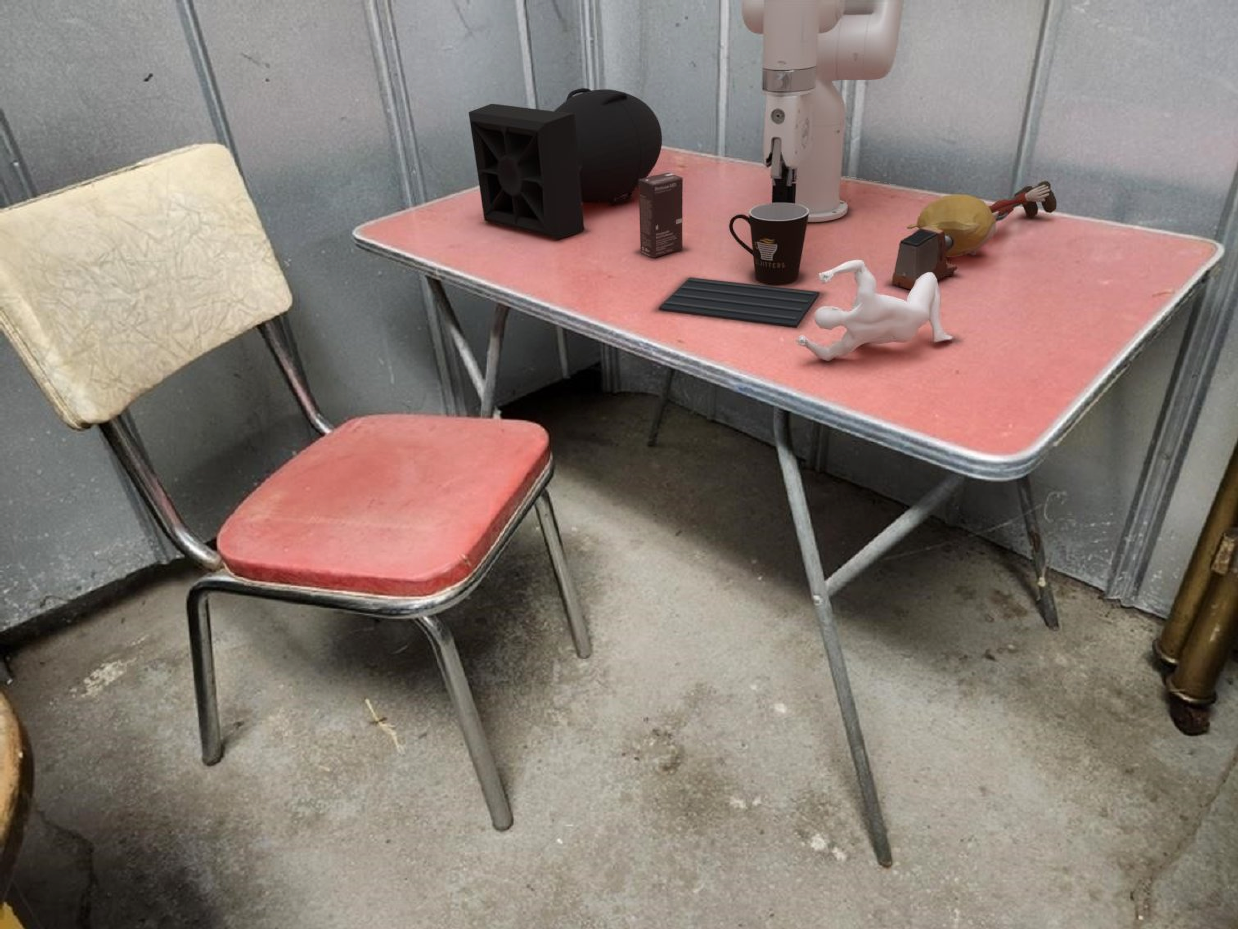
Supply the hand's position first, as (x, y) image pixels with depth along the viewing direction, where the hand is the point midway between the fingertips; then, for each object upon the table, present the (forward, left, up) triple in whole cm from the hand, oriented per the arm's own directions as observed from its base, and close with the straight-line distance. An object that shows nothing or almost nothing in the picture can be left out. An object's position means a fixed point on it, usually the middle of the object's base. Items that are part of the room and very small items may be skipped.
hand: (783, 210), depth 133 cm
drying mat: (+17, -1, -8) cm, 19 cm away
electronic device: (+2, +22, -8) cm, 24 cm away
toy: (-18, +28, -8) cm, 35 cm away
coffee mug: (+6, 0, -8) cm, 10 cm away
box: (+1, -20, -8) cm, 22 cm away
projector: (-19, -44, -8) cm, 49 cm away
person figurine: (+27, +20, -8) cm, 35 cm away
